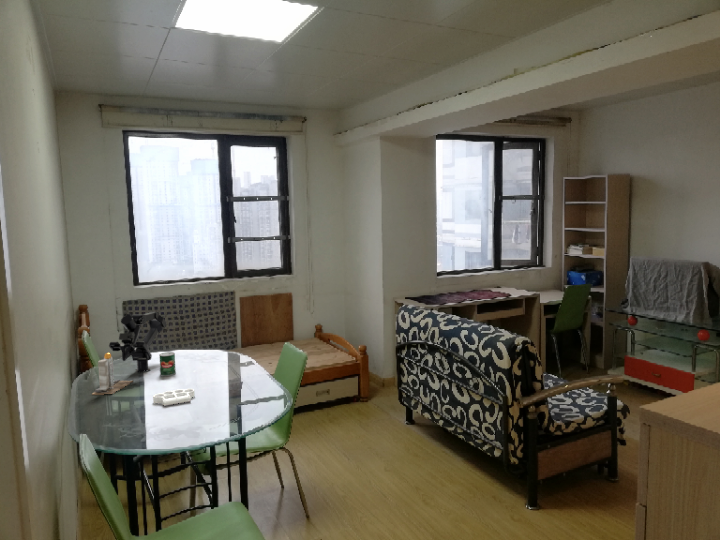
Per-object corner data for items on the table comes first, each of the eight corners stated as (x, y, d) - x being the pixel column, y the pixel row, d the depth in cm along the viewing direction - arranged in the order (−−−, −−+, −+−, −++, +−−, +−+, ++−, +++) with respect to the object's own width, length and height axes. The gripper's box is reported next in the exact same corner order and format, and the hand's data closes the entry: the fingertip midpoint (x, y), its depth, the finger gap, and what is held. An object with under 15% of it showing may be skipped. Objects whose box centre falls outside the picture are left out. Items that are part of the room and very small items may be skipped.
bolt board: (114, 382, 271) (112, 351, 270) (133, 381, 270) (131, 351, 269) (92, 394, 251) (89, 362, 249) (112, 394, 250) (110, 361, 249)
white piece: (156, 409, 229) (152, 399, 242) (198, 401, 238) (192, 393, 251) (155, 401, 229) (151, 392, 242) (198, 394, 238) (191, 386, 250)
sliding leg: (104, 385, 260) (101, 352, 258) (115, 385, 259) (112, 351, 258) (99, 388, 256) (97, 354, 254) (110, 388, 255) (108, 353, 254)
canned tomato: (163, 376, 279) (162, 356, 278) (158, 373, 285) (156, 353, 284) (178, 373, 284) (177, 353, 283) (172, 370, 290) (171, 351, 289)
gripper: (109, 326, 275) (99, 352, 265) (143, 326, 274) (134, 352, 264) (117, 337, 284) (108, 363, 274) (151, 337, 282) (143, 363, 273)
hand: (123, 360), depth 271 cm, fingers closed
